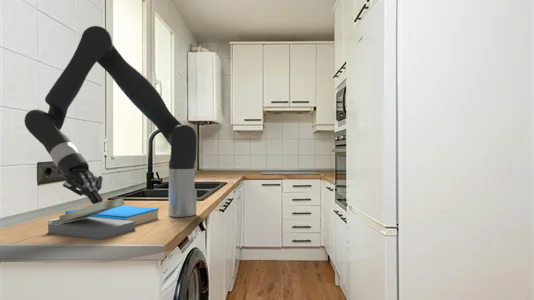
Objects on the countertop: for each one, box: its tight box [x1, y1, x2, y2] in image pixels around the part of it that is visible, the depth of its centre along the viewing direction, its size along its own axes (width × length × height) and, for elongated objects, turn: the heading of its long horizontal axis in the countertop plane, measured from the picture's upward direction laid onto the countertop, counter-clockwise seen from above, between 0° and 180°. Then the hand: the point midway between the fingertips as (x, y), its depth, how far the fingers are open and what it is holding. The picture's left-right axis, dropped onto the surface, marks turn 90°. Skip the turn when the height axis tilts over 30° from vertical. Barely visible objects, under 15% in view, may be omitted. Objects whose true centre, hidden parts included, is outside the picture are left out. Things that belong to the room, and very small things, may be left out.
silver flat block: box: [58, 198, 126, 223], centre depth 105 cm, size 9×16×2 cm, turn 69°
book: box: [64, 205, 160, 226], centre depth 122 cm, size 17×4×25 cm
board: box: [47, 217, 136, 241], centre depth 105 cm, size 13×20×4 cm, turn 69°
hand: (99, 203), depth 104 cm, fingers closed
